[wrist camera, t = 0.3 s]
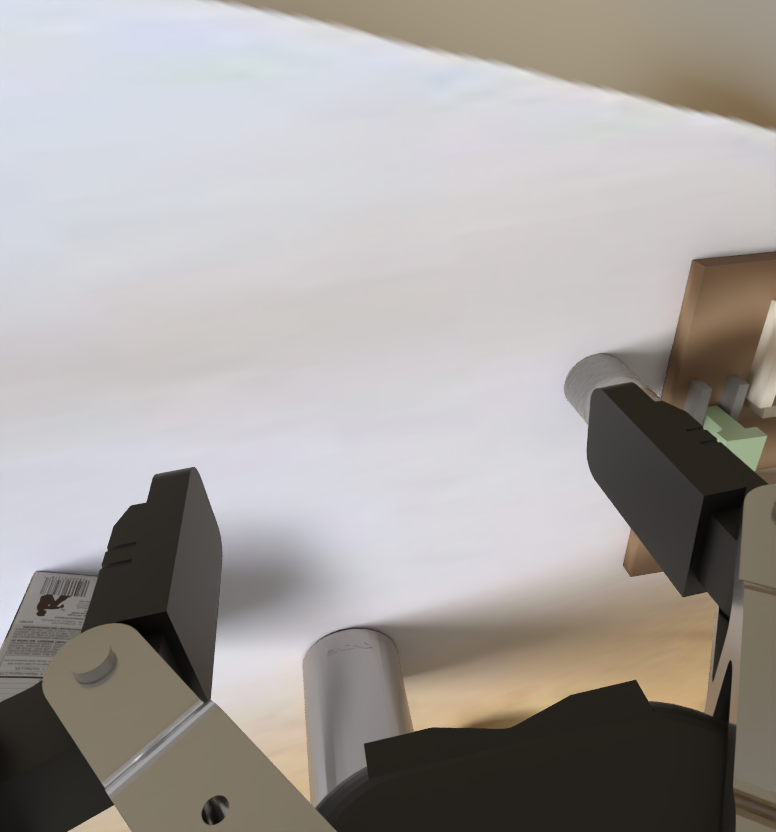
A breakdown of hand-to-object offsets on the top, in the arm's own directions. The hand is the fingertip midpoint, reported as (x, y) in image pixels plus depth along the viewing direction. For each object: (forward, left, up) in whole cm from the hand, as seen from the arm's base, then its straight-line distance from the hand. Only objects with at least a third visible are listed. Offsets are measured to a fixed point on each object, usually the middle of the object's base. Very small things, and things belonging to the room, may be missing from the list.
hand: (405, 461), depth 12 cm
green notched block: (-20, -29, -27) cm, 44 cm away
